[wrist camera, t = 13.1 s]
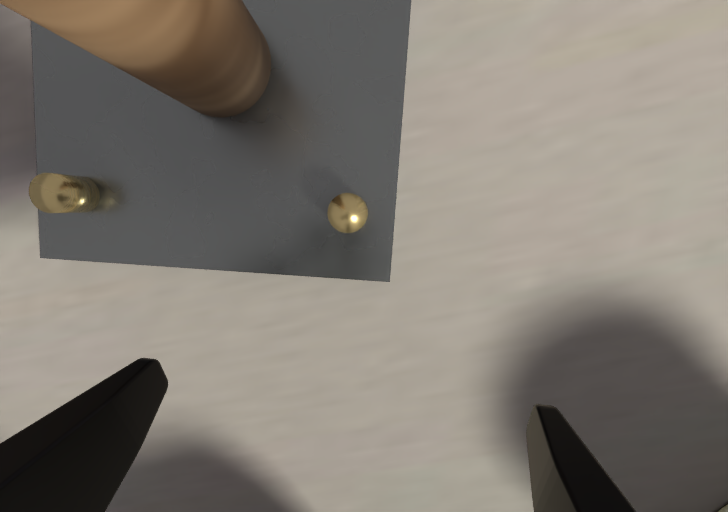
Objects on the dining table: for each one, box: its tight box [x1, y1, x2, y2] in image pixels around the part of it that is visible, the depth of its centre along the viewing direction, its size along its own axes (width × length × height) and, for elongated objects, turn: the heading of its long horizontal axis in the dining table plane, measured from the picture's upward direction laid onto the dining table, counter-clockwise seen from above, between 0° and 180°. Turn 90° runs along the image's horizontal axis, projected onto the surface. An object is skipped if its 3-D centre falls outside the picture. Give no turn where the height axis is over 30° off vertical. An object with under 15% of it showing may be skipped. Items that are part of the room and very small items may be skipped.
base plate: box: [29, 0, 411, 282], centre depth 16 cm, size 18×16×3 cm
